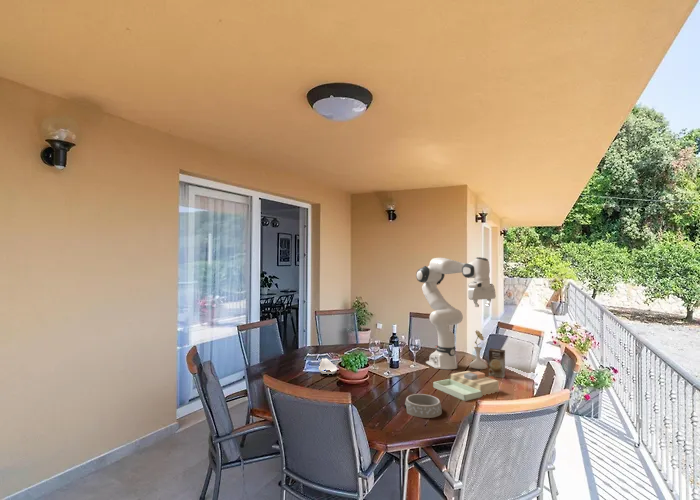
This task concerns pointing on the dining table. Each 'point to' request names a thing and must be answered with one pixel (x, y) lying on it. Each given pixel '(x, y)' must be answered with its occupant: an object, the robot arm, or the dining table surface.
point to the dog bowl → (423, 406)
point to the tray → (457, 389)
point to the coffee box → (496, 363)
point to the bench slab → (477, 382)
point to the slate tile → (470, 376)
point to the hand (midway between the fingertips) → (482, 306)
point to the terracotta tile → (479, 374)
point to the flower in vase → (478, 355)
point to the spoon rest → (327, 366)
